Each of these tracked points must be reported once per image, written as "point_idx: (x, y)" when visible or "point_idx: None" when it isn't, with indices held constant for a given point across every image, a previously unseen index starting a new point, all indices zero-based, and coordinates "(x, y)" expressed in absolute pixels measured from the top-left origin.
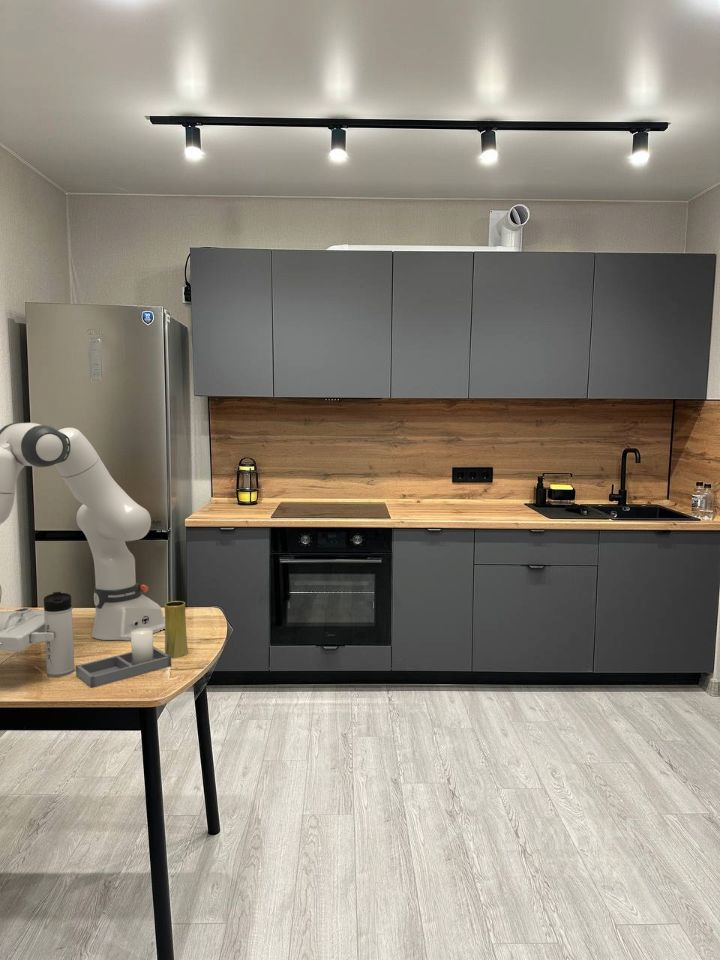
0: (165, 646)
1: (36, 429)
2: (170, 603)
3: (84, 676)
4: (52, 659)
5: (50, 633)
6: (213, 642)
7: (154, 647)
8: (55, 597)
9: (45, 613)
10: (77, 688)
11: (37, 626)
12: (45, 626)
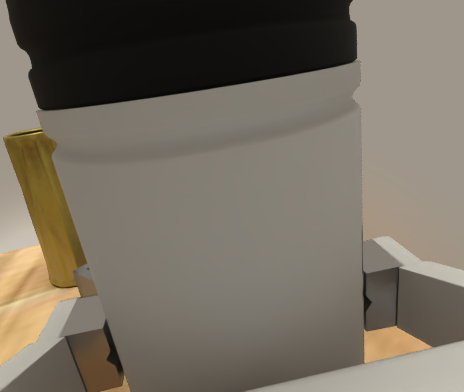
0: (80, 254)
1: None
2: (8, 142)
3: None
4: None
5: (392, 240)
6: (6, 256)
7: (83, 266)
8: None
9: (345, 107)
10: (369, 342)
11: (421, 355)
12: (357, 272)
